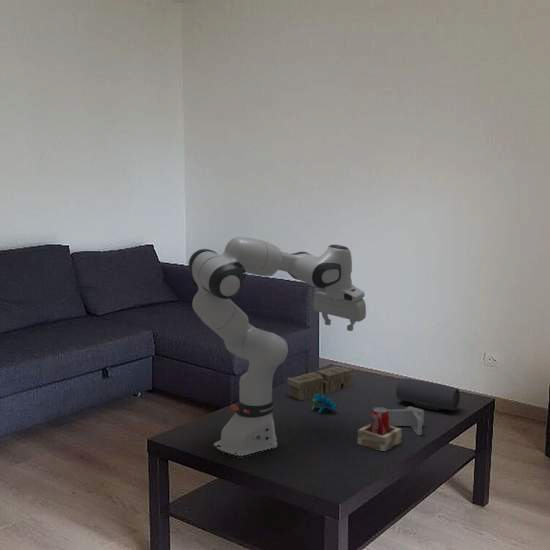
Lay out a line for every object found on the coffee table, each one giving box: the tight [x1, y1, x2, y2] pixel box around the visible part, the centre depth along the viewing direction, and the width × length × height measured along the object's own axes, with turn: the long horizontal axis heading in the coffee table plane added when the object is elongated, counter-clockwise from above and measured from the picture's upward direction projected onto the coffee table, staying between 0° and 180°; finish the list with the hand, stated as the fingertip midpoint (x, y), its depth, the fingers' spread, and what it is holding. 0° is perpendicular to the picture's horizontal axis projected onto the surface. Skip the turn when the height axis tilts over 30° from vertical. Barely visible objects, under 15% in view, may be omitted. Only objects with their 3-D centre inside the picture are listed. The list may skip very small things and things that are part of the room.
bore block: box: [357, 423, 403, 452], centre depth 246 cm, size 11×11×5 cm
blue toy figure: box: [311, 394, 338, 414], centre depth 275 cm, size 11×6×10 cm
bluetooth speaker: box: [395, 377, 461, 411], centre depth 280 cm, size 23×9×10 cm, turn 56°
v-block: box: [388, 405, 425, 436], centre depth 259 cm, size 10×15×6 cm, turn 48°
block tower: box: [287, 365, 352, 401], centre depth 298 cm, size 8×8×29 cm
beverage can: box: [370, 406, 390, 435], centre depth 245 cm, size 6×6×12 cm
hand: (338, 327), depth 256 cm, fingers open, 8 cm apart
